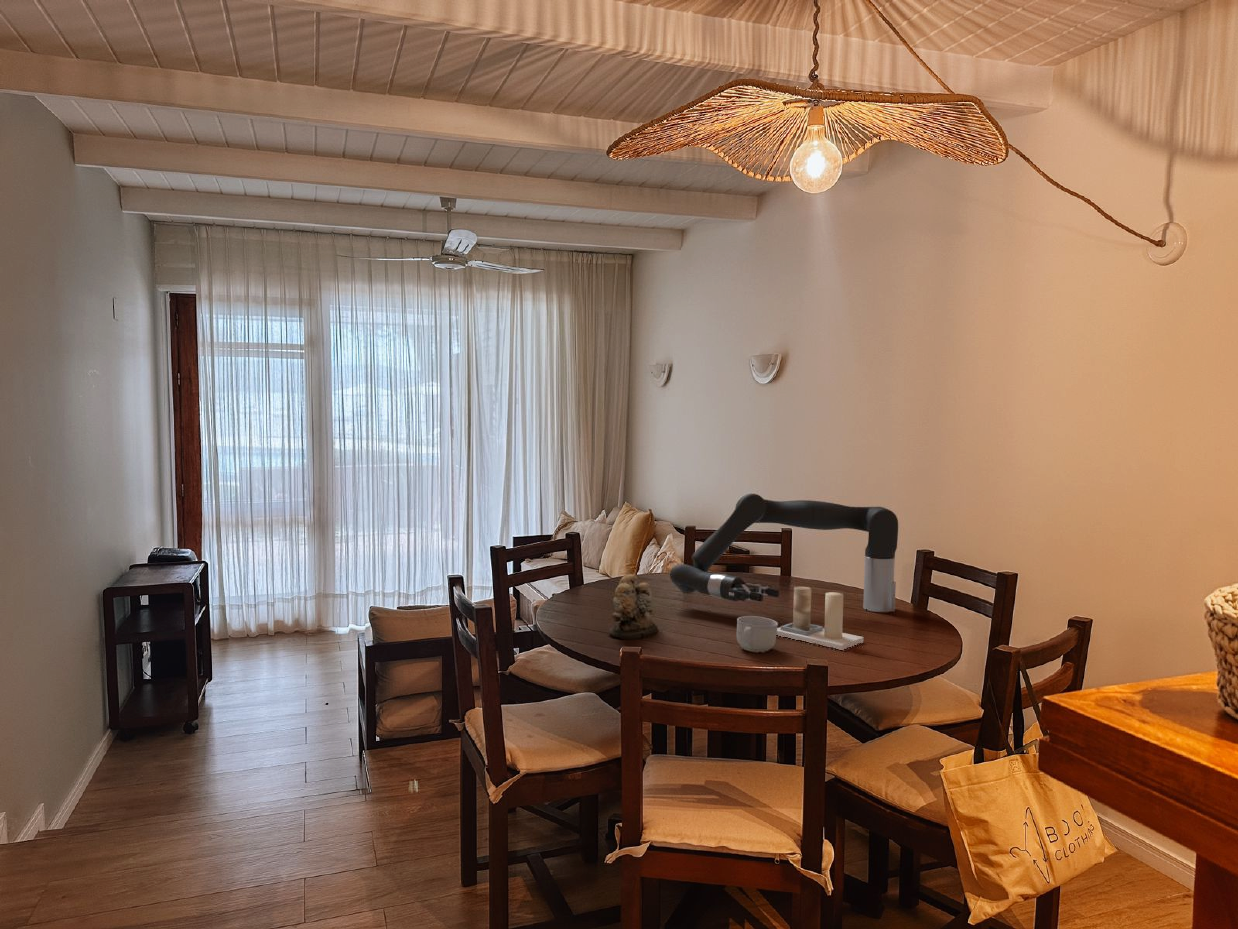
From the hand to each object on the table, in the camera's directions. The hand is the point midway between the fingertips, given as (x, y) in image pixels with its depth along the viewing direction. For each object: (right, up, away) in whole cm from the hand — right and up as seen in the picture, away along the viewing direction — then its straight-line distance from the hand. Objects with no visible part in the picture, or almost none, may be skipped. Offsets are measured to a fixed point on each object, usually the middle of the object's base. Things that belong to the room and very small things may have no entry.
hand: (770, 595), depth 243 cm
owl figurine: (-41, -10, -7) cm, 42 cm away
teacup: (-9, -11, -23) cm, 27 cm away
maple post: (+8, -9, -7) cm, 13 cm away
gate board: (+11, -10, -10) cm, 18 cm away
